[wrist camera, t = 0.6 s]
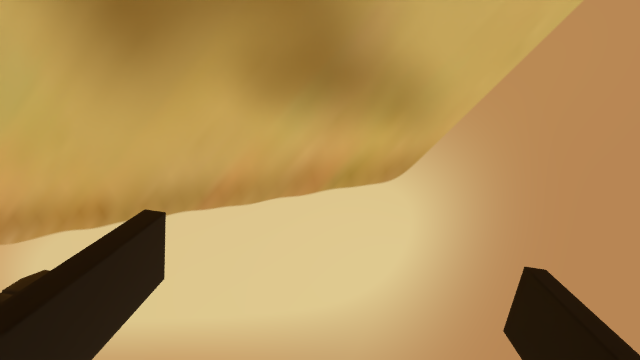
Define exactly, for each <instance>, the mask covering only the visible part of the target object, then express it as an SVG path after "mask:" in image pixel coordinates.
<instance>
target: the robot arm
mask: <svg viewBox="0 0 640 360" xmlns="http://www.w3.org/2000/svg"><path fill="white" fill-rule="evenodd" d="M165 217H166V213H165V212H159V211H152V210H143V211H142V212H140V213H139V214H137V215H136V216H134V217H133V218H131V219H130V220H128V221H126V222H125V223H124V224H122V225H120V226H119V227H117V228H116V229H114V230H113V231H111V232H110V233H108V234H106V235H105V236H103V237H102V238H100V239H99V240H97V241H96V242H94V243H93V244H91V245H90V246H88V247H86V248H85V249H83V250H82V251H80V252H79V253H77V254H76V255H74V256H73V257H71V258H70V259H68V260H66V261H65V262H63V263H62V264H61V265H59V266H57V267H56V268H54V269H53V270H51V271H48V270H43V271H41V272H38V273H36V274H33V275H30V276H27V277H25V278H22V279H20V280H18V281H17V282H15V283H14V284H12V285H11V286H9V287H7V288H6V289H4V290H2V293H0V360H92V359H93V358H94V356H95V355H96V354H97V353H98V352H99V351H100V350H101V349H102V348H103V347H104V345H105V344H106V343H107V342H108V341H109V340H110V339H111V338H112V337H113V335H114V334H115V333H116V332H117V331H118V330H119V329H120V328H121V326H122V325H123V324H124V323H125V322H126V321H127V320H128V319H129V318H130V316H131V315H132V314H133V313H134V312H135V311H136V310H137V309H138V308H139V306H140V305H141V304H142V303H143V302H144V301H145V300H146V299H147V298H148V296H149V295H150V294H151V293H152V292H153V291H154V289H156V287H157V286H158V285H159V284H160V283H161V282H162V281H163V280H164V265H165ZM504 333H505V334H506V336H507V337H508V339H509V340H510V342H511V343H512V345H513V347H514V348H515V349H516V351H517V353H518V354H519V356H520V357H521V359H522V360H640V355H639V354H638V353H637V352H636V351H634V350H633V349H632V348H631V347H630V346H629V345H628V344H627V343H626V342H624V341H623V340H622V339H621V338H620V337H619V336H618V335H617V334H616V333H615V332H614V331H612V330H611V329H610V328H609V327H608V326H607V325H606V324H605V323H604V322H602V321H601V320H600V319H599V318H598V317H597V316H596V315H595V314H594V313H593V312H592V311H590V310H589V309H588V308H587V307H586V306H585V305H584V304H583V303H582V302H581V301H579V300H578V299H577V298H576V297H575V296H574V295H573V294H572V293H571V292H569V291H568V290H567V289H566V288H565V287H564V286H563V285H562V284H561V283H560V282H559V281H558V280H556V279H555V278H554V277H553V276H552V275H551V274H550V273H549V272H548V271H547V270H544V269H536V268H530V267H524V270H523V273H522V276H521V279H520V282H519V285H518V288H517V291H516V294H515V297H514V300H513V303H512V306H511V309H510V312H509V315H508V318H507V321H506V324H505V328H504Z"/></svg>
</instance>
